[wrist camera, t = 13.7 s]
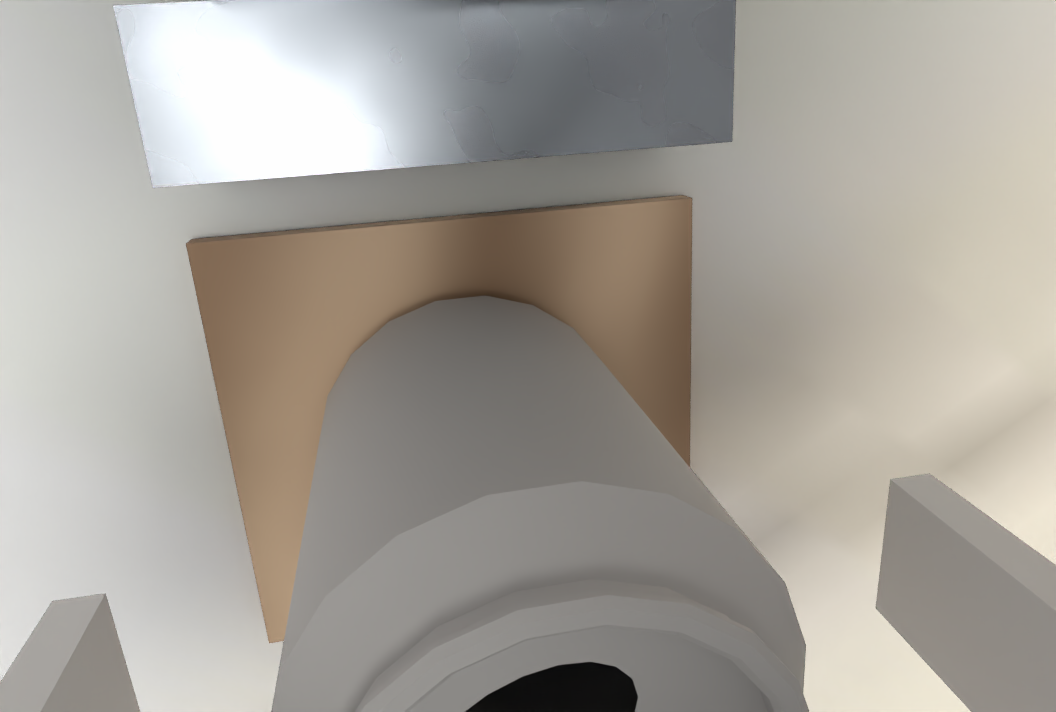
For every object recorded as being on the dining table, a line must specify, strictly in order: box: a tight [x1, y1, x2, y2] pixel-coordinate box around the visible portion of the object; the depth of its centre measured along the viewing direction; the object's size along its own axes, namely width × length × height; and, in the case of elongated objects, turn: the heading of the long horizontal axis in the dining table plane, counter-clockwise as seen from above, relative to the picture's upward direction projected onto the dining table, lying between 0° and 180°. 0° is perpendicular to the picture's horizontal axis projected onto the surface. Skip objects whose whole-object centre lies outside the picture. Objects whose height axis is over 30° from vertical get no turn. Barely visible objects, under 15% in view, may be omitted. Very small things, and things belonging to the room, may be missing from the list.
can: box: [271, 296, 809, 712], centre depth 15 cm, size 8×8×12 cm
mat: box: [186, 195, 692, 643], centre depth 21 cm, size 12×11×1 cm
